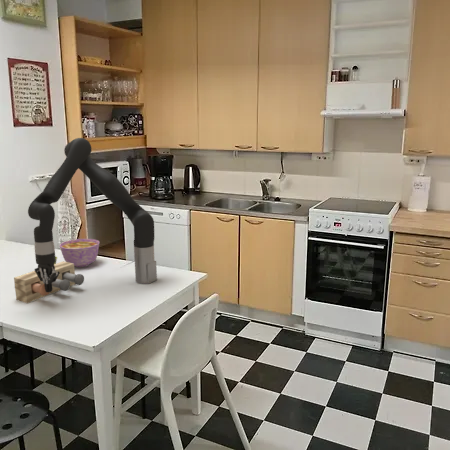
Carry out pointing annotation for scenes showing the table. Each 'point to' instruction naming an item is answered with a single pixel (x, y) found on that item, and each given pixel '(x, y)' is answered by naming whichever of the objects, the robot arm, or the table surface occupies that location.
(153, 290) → the table surface
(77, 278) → the grey dowel
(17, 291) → the socket rail
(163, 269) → the table surface
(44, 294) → the dowel terracotta
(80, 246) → the bowl of food
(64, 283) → the grey dowel
